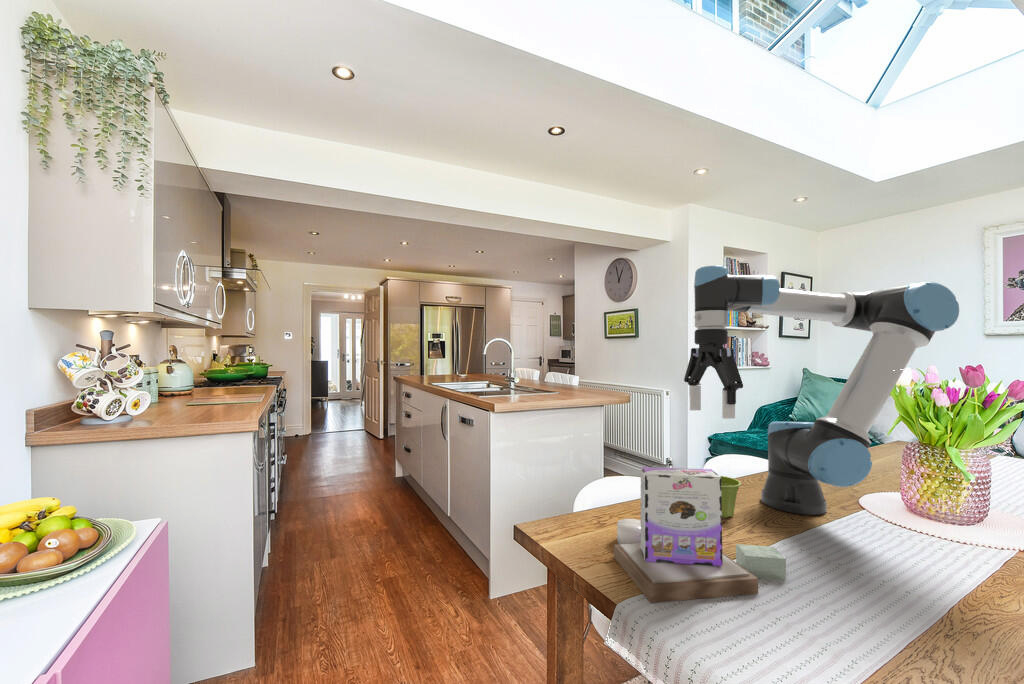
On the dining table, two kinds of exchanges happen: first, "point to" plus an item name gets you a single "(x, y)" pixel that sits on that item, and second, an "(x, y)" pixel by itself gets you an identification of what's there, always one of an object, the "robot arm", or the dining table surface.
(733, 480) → the plant pot
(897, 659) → the dining table surface
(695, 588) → the picture frame
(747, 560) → the pale green block
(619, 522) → the white rounded dome
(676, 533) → the candy box
